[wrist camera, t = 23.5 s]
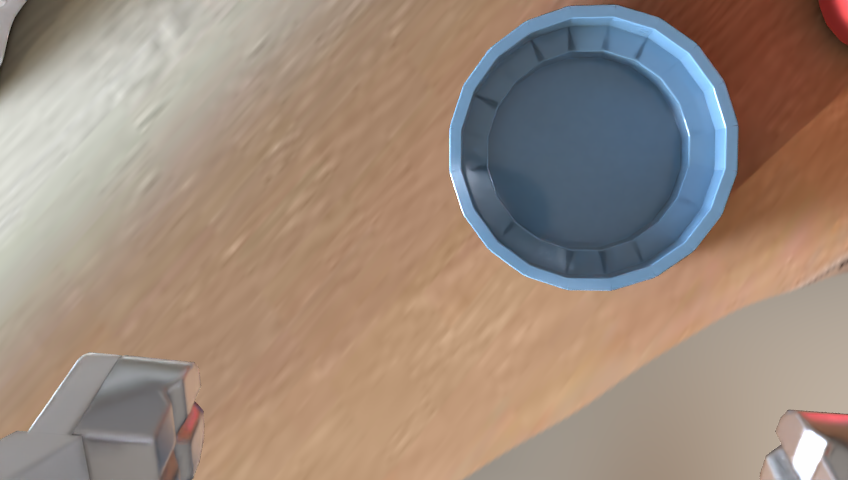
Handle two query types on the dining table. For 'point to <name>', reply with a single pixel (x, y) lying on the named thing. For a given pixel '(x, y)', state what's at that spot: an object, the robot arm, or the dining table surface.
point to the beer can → (836, 17)
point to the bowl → (593, 147)
